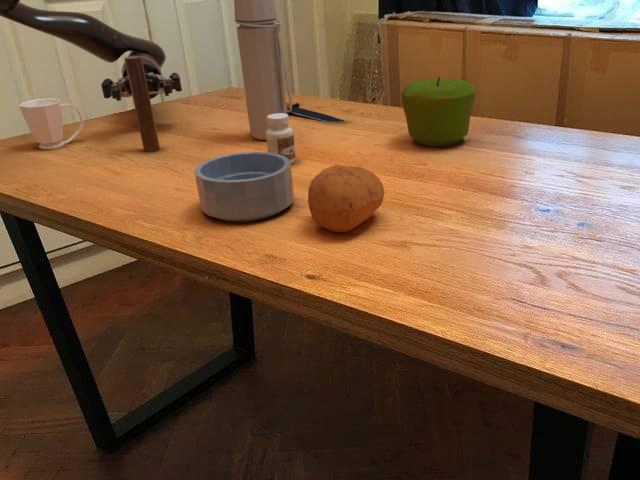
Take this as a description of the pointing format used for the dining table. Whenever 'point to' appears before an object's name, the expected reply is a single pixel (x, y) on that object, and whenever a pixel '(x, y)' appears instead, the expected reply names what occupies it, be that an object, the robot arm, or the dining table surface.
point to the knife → (311, 114)
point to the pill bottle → (280, 136)
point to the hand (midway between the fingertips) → (142, 92)
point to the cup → (47, 121)
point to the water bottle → (261, 62)
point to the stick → (142, 103)
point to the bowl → (245, 186)
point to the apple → (438, 110)
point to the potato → (344, 197)
